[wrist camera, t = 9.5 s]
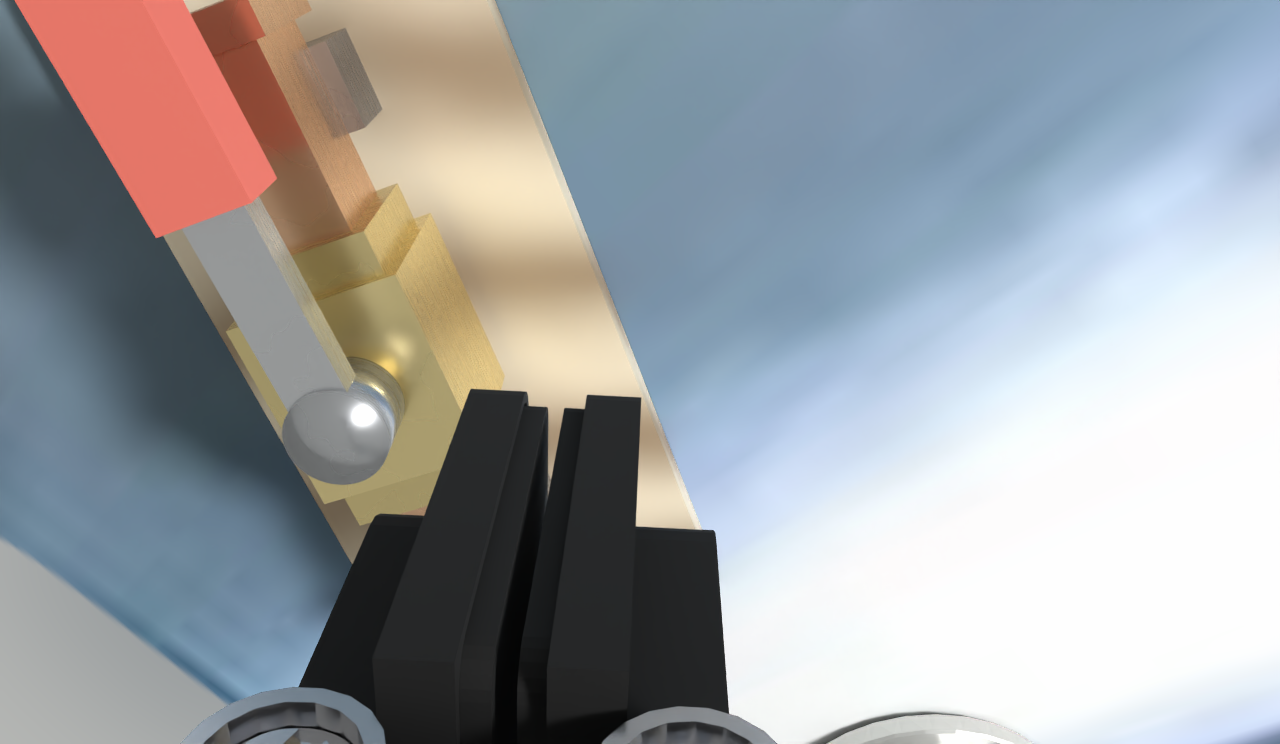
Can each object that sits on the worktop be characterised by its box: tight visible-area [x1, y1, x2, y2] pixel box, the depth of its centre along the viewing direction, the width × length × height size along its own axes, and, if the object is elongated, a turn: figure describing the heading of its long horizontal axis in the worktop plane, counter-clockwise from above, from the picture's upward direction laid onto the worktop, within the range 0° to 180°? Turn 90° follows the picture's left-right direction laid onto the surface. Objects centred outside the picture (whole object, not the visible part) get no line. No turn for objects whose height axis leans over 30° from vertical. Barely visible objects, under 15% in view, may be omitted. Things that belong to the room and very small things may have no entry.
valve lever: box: [15, 0, 405, 485], centre depth 25 cm, size 14×3×2 cm, turn 20°
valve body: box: [190, 0, 551, 526], centre depth 31 cm, size 20×5×6 cm, turn 19°
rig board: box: [163, 0, 702, 564], centre depth 35 cm, size 26×12×1 cm, turn 19°
